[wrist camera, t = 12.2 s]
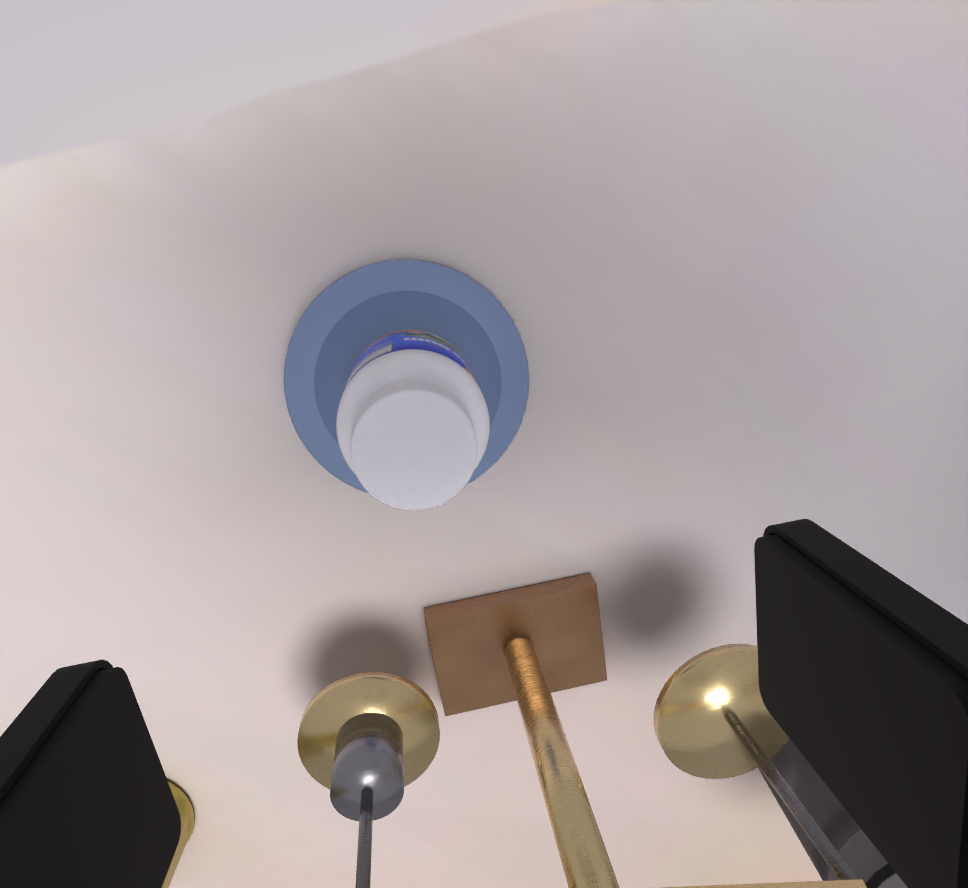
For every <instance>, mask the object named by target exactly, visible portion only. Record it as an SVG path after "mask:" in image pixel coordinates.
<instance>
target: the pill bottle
mask: <svg viewBox="0 0 968 888" xmlns="http://www.w3.org/2000/svg"><path fill="white" fill-rule="evenodd" d="M336 428H337V438H338V443H339V446H340V449H341V452H342V454H343V457H344V459H345V461H346V463H347V464H348V466H349V467H350V469H351V470H352V471H353V472H354V474H355V475H356V476H357V478H358V480H359V481H360V483H361V484H362V486H363V487H364V488H365V489H366V490H367V491H368V492H369V493H370V494H371V495H372V496H373V497H374V498H376V499H377V500H379V501H381V502H382V503H384V504H386V505H388V506H391V507H394V508H397V509H402V510H410V511H418V510H426V509H431V508H434V507H437V506H439V505H441V504H444V503H446V502H447V501H449V500H451V499H452V498H453V497H455V496H456V495H457V494H458V493H459V492H460V491H461V490H462V489H463V488H464V486H465V485H466V484H467V483H468V481H469V480H470V478H471V476H472V474H473V471H474V470H475V469H476V467H477V466H478V464H479V463H480V461H481V459H482V457H483V455H484V453H485V450H486V447H487V443H488V438H489V431H490V422H489V413H488V408H487V405H486V402H485V399H484V396H483V394H482V391H481V389H480V388H479V386H478V384H477V382H476V380H475V379H474V377H473V375H472V373H471V371H470V370H469V368H468V366H467V364H466V363H465V361H464V359H463V358H462V356H461V355H460V354H459V352H458V351H457V350H456V349H455V348H454V347H453V346H452V345H451V344H449V343H448V342H447V341H445V340H444V339H442V338H441V337H439V336H437V335H434V334H432V333H429V332H425V331H420V330H401V331H396V332H392V333H390V334H387V335H385V336H383V337H381V338H379V339H378V340H376V341H375V342H373V343H372V344H371V345H369V346H368V347H367V348H366V349H365V350H364V351H363V352H362V354H361V355H360V356H359V358H358V359H357V361H356V363H355V365H354V367H353V369H352V371H351V374H350V376H349V379H348V381H347V384H346V386H345V389H344V392H343V394H342V397H341V400H340V404H339V407H338V413H337V421H336Z"/></svg>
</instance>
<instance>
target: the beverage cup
mask: <svg viewBox="0 0 968 888" xmlns="http://www.w3.org/2000/svg"><path fill="white" fill-rule="evenodd" d="M769 760H770V761H771V762H772V764H773V765H774V766H775V768H776V769H777V770H778V772H779V773H780V775H781V776H782V777H783V779H784V780H785V781H786V783H787V784H788V785H789V787H790V788H791V789H792V791H793V792H794V794H795V795H796V796H797V798H798V799H799V800H800V802H801V803H802V804H803V806H804V807H805V808H806V810H807V811H808V813H809V814H810V815H811V817H812V818H813V819H814V821H815V822H816V823H817V825H818V826H819V827H820V829H821V830H822V832H823V833H824V834H825V836H826V837H827V838H828V840H829V841H830V842H831V844H832V845H833V846H834V848H835V849H836V851H837V852H838V853H839V855H840V856H841V857H842V859H843V860H844V861H845V863H846V864H847V865H848V867H849V868H850V870H851V871H852V872H853V874H854V875H855V876H856V878H857V879H863V881H864V883H865V885H866V887H867V888H908V887H907V886H906V885H905V884H904V882H903V881H902V880H901V879H900V877H899V876H898V875H897V874H896V872H895V871H894V870H893V869H892V867H891V866H890V865H889V863H888V862H887V861H886V860H885V858H884V857H883V856H882V855H881V853H880V852H879V851H878V850H877V848H876V847H875V846H874V845H873V843H872V842H871V841H870V839H869V838H868V837H867V836H866V834H865V833H864V832H863V831H862V829H861V828H860V827H859V826H858V824H857V823H856V822H855V821H854V819H853V818H852V817H851V815H850V814H849V813H848V812H847V810H846V809H845V808H844V807H843V805H842V804H841V803H840V802H839V800H838V799H837V798H836V797H835V795H834V794H833V793H832V791H831V790H830V789H829V788H828V786H827V785H826V784H825V783H824V781H823V780H822V779H821V778H820V776H819V775H818V774H817V772H816V771H815V770H814V769H813V767H812V766H811V765H810V764H809V762H808V761H807V760H806V759H805V757H804V756H803V755H802V754H801V752H800V751H799V750H798V748H797V747H796V746H795V745H794V743H793V742H792V741H791V740H790V738H789V740H788V741H787V743H786V744H785V745H784V746H783V748H782V749H781V750H780V751H779V752H778V753H777V754H776V755H774V756H773V757H772V758H771V759H769ZM758 769H759V770H760V772H761V774H762V775H763V777H764V779H765V781H766V782H767V784H768V786H769V788H770V789H771V791H772V793H773V795H774V796H775V798H776V800H777V802H778V803H779V805H780V807H781V808H782V810H783V812H784V814H785V815H786V817H787V819H788V821H789V822H790V824H791V826H792V828H793V829H794V831H795V833H796V835H797V836H798V838H799V840H800V841H801V843H802V845H803V847H804V848H805V850H806V852H807V854H808V855H809V857H810V859H811V861H812V862H813V864H814V866H815V867H816V869H817V871H818V873H819V874H820V876H821V878H822V880H823V881H833V880H838V878H837V877H836V875H835V874H834V873H833V871H832V870H831V868H830V867H829V866H828V864H827V863H826V861H825V860H824V858H823V857H822V856H821V854H820V853H819V851H818V850H817V849H816V847H815V846H814V844H813V843H812V841H811V840H810V839H809V837H808V836H807V834H806V833H805V832H804V830H803V829H802V827H801V826H800V824H799V823H798V822H797V820H796V819H795V817H794V816H793V815H792V813H791V812H790V810H789V809H788V807H787V806H786V805H785V803H784V802H783V800H782V799H781V798H780V796H779V795H778V793H777V792H776V790H775V789H774V788H773V786H772V785H771V783H770V782H769V781H768V779H767V778H766V776H765V775H764V773H763V772H762V771H761V769H760V768H759V767H758Z"/></svg>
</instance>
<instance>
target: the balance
mask: <svg viewBox="0 0 968 888" xmlns="http://www.w3.org/2000/svg"><path fill="white" fill-rule="evenodd" d="M424 615H425V623H426V628H427V632H428V637H429V642H430V647H431V651H432V656H433V661H434V666H435V670H436V675H437V680H438V685H439V689H440V694H441V699H442V704H443V708H444V713H445V716H449V715H453V714H458V713H462V712H467V711H471V710H476V709H480V708H485V707H489V706H494V705H498V704H503V703H507V702H511V701H516V700H517V701H518V705H519V709H520V712H521V716H522V719H523V723H524V727H525V730H526V734H527V738H528V741H529V745H530V749H531V752H532V756H533V759H534V763H535V767H536V770H537V774H538V778H539V781H540V785H541V788H542V792H543V796H544V799H545V803H546V807H547V810H548V814H549V818H550V821H551V825H552V828H553V832H554V836H555V839H556V843H557V847H558V850H559V854H560V858H561V861H562V865H563V868H564V872H565V876H566V879H567V883H568V887H569V888H619V885H618V882H617V880H616V877H615V874H614V871H613V868H612V865H611V863H610V860H609V857H608V854H607V851H606V849H605V846H604V843H603V840H602V837H601V834H600V832H599V829H598V826H597V823H596V820H595V817H594V815H593V812H592V809H591V806H590V803H589V801H588V798H587V795H586V792H585V789H584V786H583V784H582V781H581V778H580V775H579V772H578V769H577V767H576V764H575V761H574V758H573V755H572V753H571V750H570V747H569V744H568V741H567V738H566V736H565V733H564V730H563V727H562V724H561V722H560V719H559V716H558V713H557V710H556V707H555V705H554V702H553V699H552V696H551V693H552V692H556V691H561V690H565V689H570V688H574V687H579V686H583V685H587V684H592V683H596V682H601V681H605V680H607V673H606V665H605V656H604V647H603V639H602V630H601V621H600V612H599V604H598V595H597V586H596V583H595V581H594V580H593V578H592V576H591V575H590V573H588V574H583V575H578V576H573V577H568V578H564V579H559V580H554V581H549V582H545V583H540V584H535V585H530V586H525V587H521V588H516V589H511V590H506V591H502V592H497V593H492V594H487V595H482V596H478V597H473V598H468V599H463V600H459V601H454V602H449V603H444V604H439V605H435V606H430V607H425V608H424ZM654 728H655V733H656V736H657V739H658V741H659V743H660V745H661V746H662V748H663V750H664V752H665V754H666V756H667V757H668V758H669V760H670V761H671V762H672V763H673V764H674V765H675V766H676V767H678V768H679V769H681V770H682V771H684V772H686V773H688V774H690V775H693V776H697V777H701V778H707V779H721V778H729V777H734V776H737V775H741V774H744V773H746V772H749V771H751V770H753V769H755V768H757V767H759V768H760V769H761V771H762V772H763V773H764V775H765V776H766V778H767V779H768V781H769V782H770V783H771V785H772V786H773V788H774V789H775V790H776V792H777V793H778V795H779V796H780V798H781V799H782V800H783V802H784V803H785V805H786V806H787V807H788V809H789V810H790V812H791V813H792V815H793V816H794V817H795V819H796V820H797V822H798V823H799V824H800V826H801V827H802V829H803V830H804V832H805V833H806V834H807V836H808V837H809V839H810V840H811V841H812V843H813V844H814V846H815V847H816V849H817V850H818V851H819V853H820V854H821V856H822V857H823V858H824V860H825V861H826V863H827V864H828V866H829V867H830V868H831V870H832V871H833V873H834V874H835V875H836V877H837V878H838V880H833V881H809V882H785V883H761V884H736V885H712V886H688V887H664V888H867V887H866V885H865V883H864V881H863V879H857V878H856V876H855V875H854V874H853V872H852V871H851V870H850V868H849V867H848V865H847V864H846V863H845V861H844V860H843V859H842V857H841V856H840V855H839V853H838V852H837V851H836V849H835V848H834V846H833V845H832V844H831V842H830V841H829V840H828V838H827V837H826V836H825V834H824V833H823V832H822V830H821V829H820V827H819V826H818V825H817V823H816V822H815V821H814V819H813V818H812V817H811V815H810V814H809V813H808V811H807V810H806V808H805V807H804V806H803V804H802V803H801V802H800V800H799V799H798V798H797V796H796V795H795V794H794V792H793V791H792V789H791V788H790V787H789V785H788V784H787V783H786V781H785V780H784V779H783V777H782V776H781V775H780V773H779V772H778V770H777V769H776V768H775V766H774V765H773V764H772V762H771V761H770V760H769V759H771V758H772V757H773V756H774V755H776V754H777V753H778V752H779V751H780V750H781V749H782V748H783V746H784V745H785V744H786V743H787V741H788V740H789V737H788V736H787V735H786V733H785V732H784V731H783V730H782V728H781V727H780V726H779V724H778V723H777V722H776V721H775V719H774V718H773V717H772V716H771V714H770V713H769V712H768V710H767V709H766V707H765V705H764V703H763V700H762V697H761V694H760V690H759V676H758V646H754V645H749V644H729V645H723V646H719V647H715V648H712V649H709V650H707V651H704V652H702V653H700V654H698V655H696V656H695V657H693V658H691V659H690V660H688V661H687V662H686V663H684V664H683V665H682V666H681V667H680V668H678V669H677V670H676V671H675V673H674V674H673V675H672V676H671V677H670V678H669V680H668V681H667V682H666V684H665V685H664V687H663V689H662V690H661V692H660V694H659V697H658V699H657V702H656V706H655V711H654ZM439 740H440V730H439V721H438V715H437V711H436V708H435V706H434V704H433V702H432V701H431V699H430V698H429V696H428V695H427V694H426V693H425V692H424V691H423V690H422V689H421V688H420V687H419V686H417V685H416V684H414V683H413V682H411V681H410V680H407V679H405V678H403V677H400V676H397V675H394V674H389V673H384V672H364V673H357V674H353V675H349V676H346V677H343V678H341V679H338V680H336V681H335V682H333V683H331V684H329V685H328V686H326V687H325V688H323V689H322V690H321V691H320V692H319V693H318V694H317V695H315V697H314V698H313V699H312V700H311V701H310V703H309V704H308V706H307V708H306V709H305V711H304V714H303V716H302V719H301V723H300V728H299V733H298V751H299V756H300V758H301V761H302V763H303V765H304V767H305V768H306V770H307V771H308V773H309V774H310V775H311V776H312V777H313V778H314V779H315V780H316V781H317V782H319V783H320V784H322V785H323V786H325V787H327V788H328V789H330V798H331V802H332V804H333V806H334V808H335V809H336V810H337V811H338V812H339V813H340V814H341V815H343V816H344V817H346V818H349V819H351V820H355V821H359V838H358V855H357V873H356V888H370V874H371V846H372V821H373V820H377V819H380V818H383V817H385V816H387V815H388V814H390V813H391V812H392V811H394V810H395V809H396V808H397V806H398V805H399V804H400V802H401V800H402V797H403V793H404V787H405V786H407V785H409V784H410V783H411V782H413V781H414V780H416V779H417V778H418V777H419V776H420V775H422V774H423V772H424V771H425V770H426V769H427V768H428V767H429V765H430V764H431V762H432V761H433V759H434V757H435V755H436V752H437V749H438V745H439Z"/></svg>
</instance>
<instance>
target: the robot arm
mask: <svg viewBox="0 0 968 888" xmlns="http://www.w3.org/2000/svg"><path fill="white" fill-rule="evenodd" d="M754 551H755V582H756V614H757V645H758V676H759V690H760V694H761V697H762V700H763V703H764V705H765V707H766V709H767V710H768V712H769V713H770V714H771V716H772V717H773V718H774V719H775V721H776V722H777V723H778V724H779V726H780V727H781V728H782V730H783V731H784V732H785V733H786V735H787V736H788V737H789V738H790V740H791V741H792V742H793V743H794V745H795V746H796V747H797V748H798V750H799V751H800V752H801V754H802V755H803V756H804V757H805V759H806V760H807V761H808V762H809V764H810V765H811V766H812V767H813V769H814V770H815V771H816V772H817V774H818V775H819V776H820V778H821V779H822V780H823V781H824V783H825V784H826V785H827V786H828V788H829V789H830V790H831V791H832V793H833V794H834V795H835V797H836V798H837V799H838V800H839V802H840V803H841V804H842V805H843V807H844V808H845V809H846V810H847V812H848V813H849V814H850V815H851V817H852V818H853V819H854V821H855V822H856V823H857V824H858V826H859V827H860V828H861V829H862V831H863V832H864V833H865V834H866V836H867V837H868V838H869V839H870V841H871V842H872V843H873V845H874V846H875V847H876V848H877V850H878V851H879V852H880V853H881V855H882V856H883V857H884V858H885V860H886V861H887V862H888V863H889V865H890V866H891V867H892V869H893V870H894V871H895V872H896V874H897V875H898V876H899V877H900V879H901V880H902V881H903V882H904V884H905V885H906V886H907V887H908V888H968V624H966V623H965V622H963V621H962V620H960V619H959V618H957V617H956V616H954V615H953V614H951V613H950V612H948V611H947V610H945V609H944V608H942V607H941V606H939V605H938V604H936V603H935V602H933V601H931V600H930V599H928V598H927V597H925V596H924V595H922V594H921V593H919V592H918V591H916V590H915V589H913V588H912V587H910V586H909V585H907V584H906V583H904V582H903V581H901V580H900V579H898V578H897V577H895V576H894V575H892V574H891V573H889V572H888V571H886V570H885V569H883V568H882V567H880V566H879V565H877V564H876V563H874V562H873V561H871V560H870V559H868V558H867V557H865V556H864V555H862V554H861V553H859V552H858V551H856V550H855V549H853V548H852V547H850V546H849V545H847V544H846V543H844V542H843V541H841V540H840V539H838V538H837V537H835V536H834V535H832V534H831V533H829V532H827V531H826V530H824V529H823V528H821V527H820V526H818V525H817V524H815V523H814V522H812V521H810V520H808V519H801V520H796V521H791V522H786V523H781V524H776V525H771V526H768V527H767V528H766V529H765V532H764V534H763V537H760V538H758V539H757V540H756V542H755V548H754ZM180 834H181V818H180V813H179V810H178V807H177V805H176V802H175V799H174V797H173V794H172V791H171V789H170V786H169V784H168V781H167V778H166V776H165V773H164V771H163V768H162V765H161V763H160V760H159V757H158V755H157V752H156V750H155V747H154V744H153V742H152V739H151V737H150V734H149V731H148V729H147V726H146V724H145V721H144V718H143V716H142V713H141V710H140V708H139V705H138V703H137V700H136V697H135V695H134V692H133V690H132V687H131V684H130V682H129V679H128V676H127V675H126V673H125V671H124V670H123V669H122V668H120V667H115V668H113V666H112V665H111V664H110V663H109V662H108V661H106V660H98V661H93V662H88V663H83V664H78V665H73V666H68V667H63V668H60V669H57V670H56V671H55V672H54V673H53V674H52V675H51V676H50V677H49V679H48V680H47V681H46V682H45V684H44V685H43V686H42V687H41V688H40V690H39V691H38V692H37V693H36V694H35V696H34V697H33V698H32V699H31V700H30V702H29V703H28V704H27V705H26V707H25V708H24V709H23V710H22V711H21V713H20V714H19V715H18V716H17V717H16V719H15V720H14V721H13V722H12V724H11V725H10V726H9V727H8V728H7V730H6V731H5V732H4V733H3V734H2V736H1V737H0V888H162V885H163V883H164V880H165V878H166V875H167V872H168V870H169V867H170V864H171V862H172V859H173V856H174V854H175V851H176V848H177V846H178V843H179V839H180Z"/></svg>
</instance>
